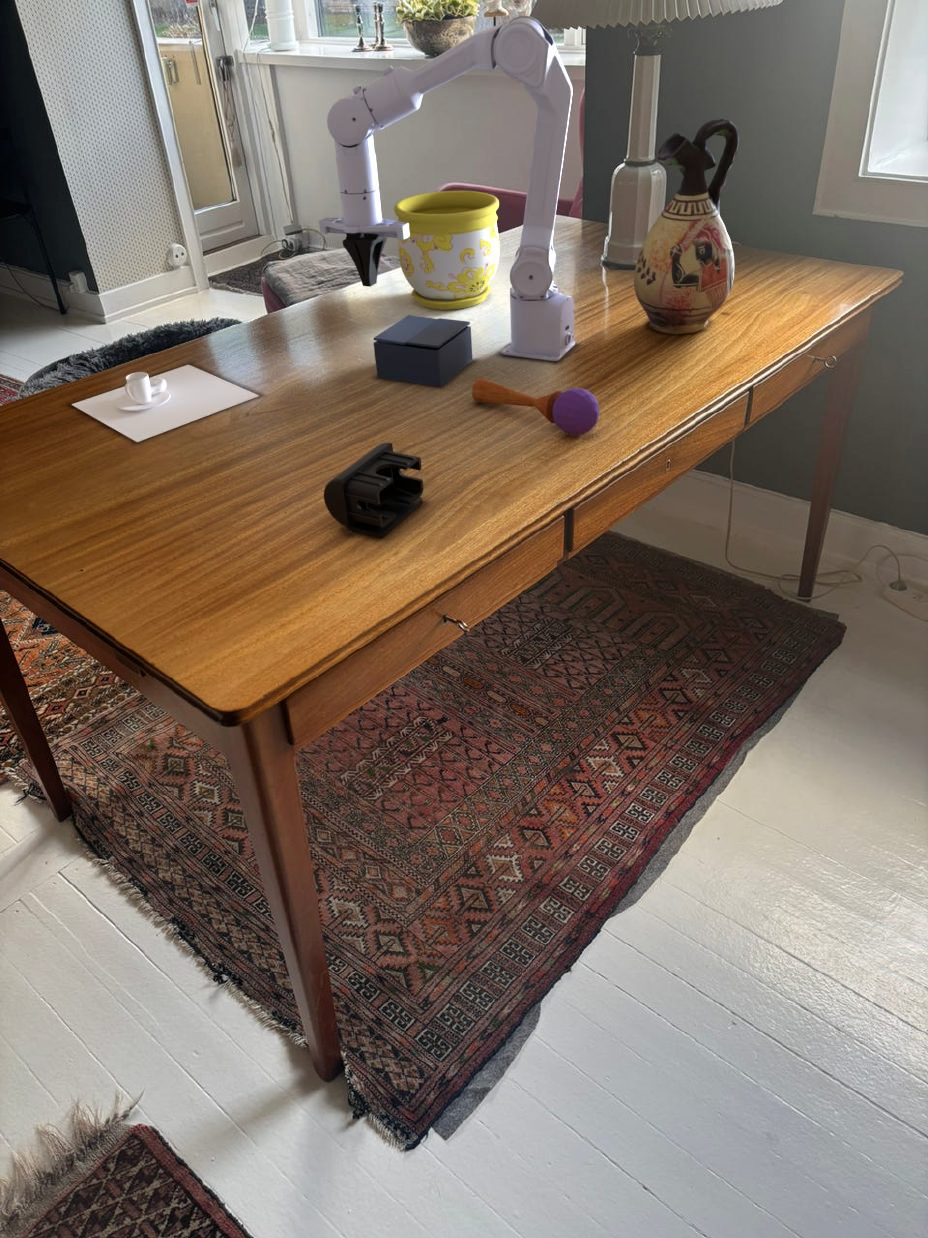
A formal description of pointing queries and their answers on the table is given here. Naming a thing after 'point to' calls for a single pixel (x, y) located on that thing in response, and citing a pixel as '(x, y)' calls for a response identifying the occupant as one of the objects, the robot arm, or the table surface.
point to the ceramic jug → (689, 238)
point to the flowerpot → (449, 247)
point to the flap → (404, 329)
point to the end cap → (375, 492)
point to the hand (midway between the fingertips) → (369, 284)
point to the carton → (427, 354)
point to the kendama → (546, 405)
